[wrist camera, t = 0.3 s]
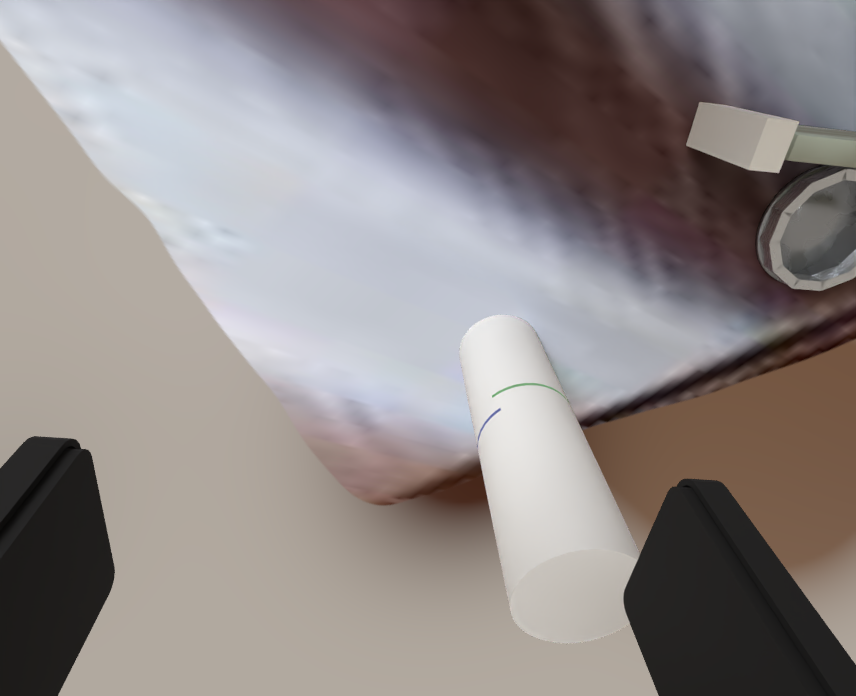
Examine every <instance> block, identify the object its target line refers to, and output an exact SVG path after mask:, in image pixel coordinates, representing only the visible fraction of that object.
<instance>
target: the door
mask: <svg viewBox="0 0 856 696" xmlns="http://www.w3.org/2000/svg"><path fill="white" fill-rule="evenodd" d="M785 160H788V161H796V162H806V163H815V164H824V165H834V166H843V167H852V168H856V132H854V131H846V130H837V129H828V128H819V127H811V126H802V125H798V126H797V129H796V131H795V134H794V136H793V139H792V141H791V144H790V146H789V149H788V151H787V154H786V156H785Z"/></svg>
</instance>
